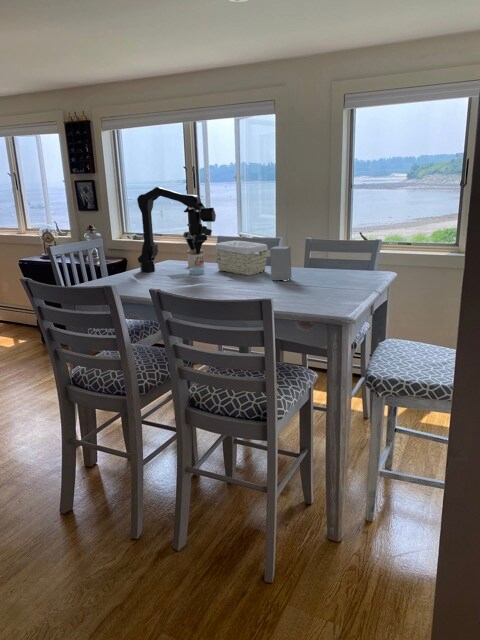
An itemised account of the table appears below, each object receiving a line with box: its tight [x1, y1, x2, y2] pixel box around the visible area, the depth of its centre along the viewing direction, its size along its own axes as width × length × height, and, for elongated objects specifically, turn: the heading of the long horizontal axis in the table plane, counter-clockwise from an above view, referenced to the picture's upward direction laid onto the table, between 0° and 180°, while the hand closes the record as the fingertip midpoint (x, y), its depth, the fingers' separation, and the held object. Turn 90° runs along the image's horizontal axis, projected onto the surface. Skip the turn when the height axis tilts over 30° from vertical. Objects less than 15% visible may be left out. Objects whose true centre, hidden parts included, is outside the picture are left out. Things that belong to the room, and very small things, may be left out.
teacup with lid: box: [186, 248, 206, 269], centre depth 260 cm, size 12×9×12 cm
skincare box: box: [269, 245, 292, 280], centre depth 221 cm, size 8×7×16 cm
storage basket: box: [215, 240, 269, 276], centre depth 244 cm, size 24×16×15 cm
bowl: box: [188, 267, 205, 276], centre depth 237 cm, size 7×7×4 cm
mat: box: [166, 273, 193, 280], centre depth 231 cm, size 10×10×1 cm
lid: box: [188, 249, 204, 255], centre depth 234 cm, size 7×7×2 cm
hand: (195, 253), depth 234 cm, fingers closed on lid, 7 cm apart
